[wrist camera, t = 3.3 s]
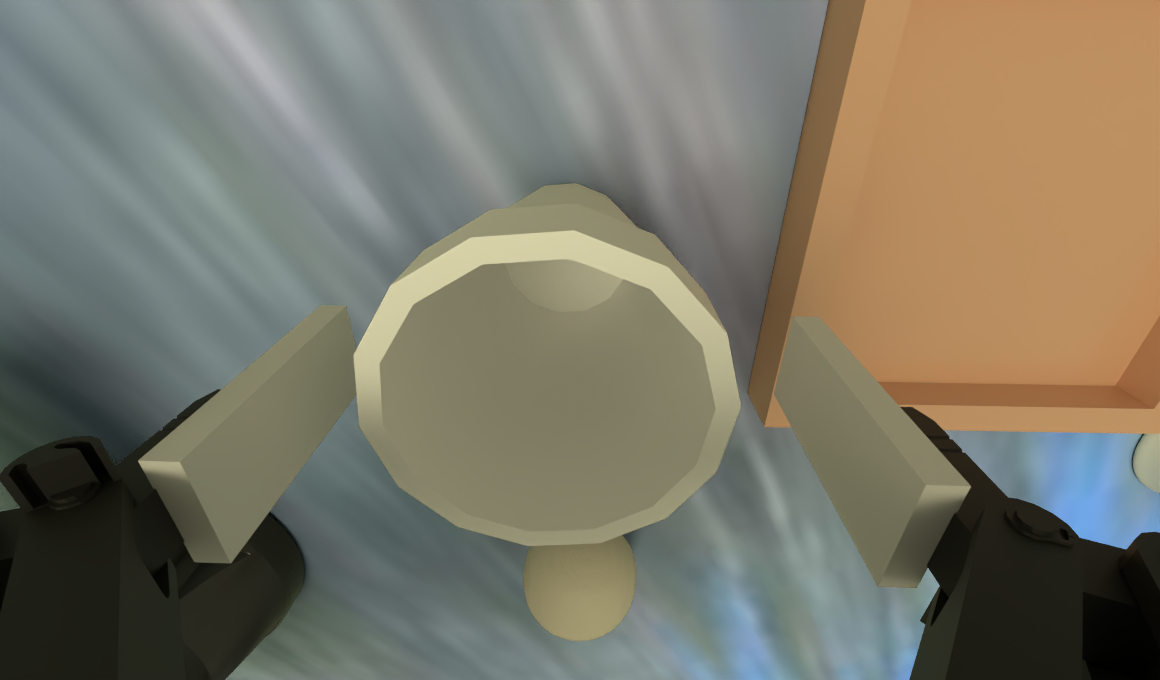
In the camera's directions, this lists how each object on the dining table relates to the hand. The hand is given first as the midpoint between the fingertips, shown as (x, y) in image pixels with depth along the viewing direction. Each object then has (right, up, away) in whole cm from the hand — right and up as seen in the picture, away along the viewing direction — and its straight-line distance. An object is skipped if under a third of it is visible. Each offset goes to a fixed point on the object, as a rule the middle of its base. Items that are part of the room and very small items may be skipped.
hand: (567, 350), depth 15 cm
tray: (+20, +6, +8) cm, 22 cm away
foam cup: (0, +5, +9) cm, 10 cm away
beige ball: (0, -12, +18) cm, 22 cm away
